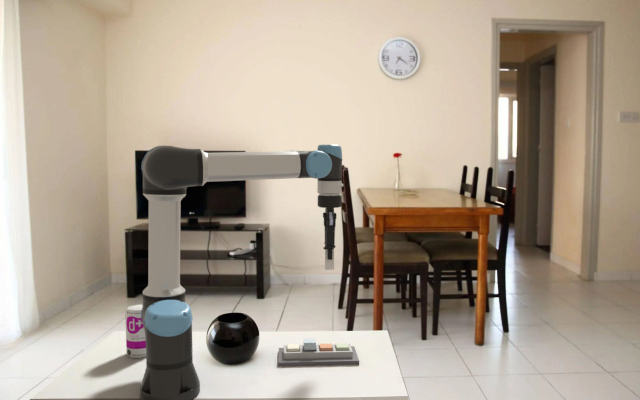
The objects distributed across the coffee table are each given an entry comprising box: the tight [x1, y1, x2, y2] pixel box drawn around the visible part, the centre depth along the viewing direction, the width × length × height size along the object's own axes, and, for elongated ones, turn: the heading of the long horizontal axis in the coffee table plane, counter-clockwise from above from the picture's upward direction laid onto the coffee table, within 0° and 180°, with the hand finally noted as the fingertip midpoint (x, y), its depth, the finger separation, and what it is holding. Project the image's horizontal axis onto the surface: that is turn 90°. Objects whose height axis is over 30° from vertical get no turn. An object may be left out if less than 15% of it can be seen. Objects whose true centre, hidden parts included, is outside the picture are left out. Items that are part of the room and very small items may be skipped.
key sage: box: [335, 342, 349, 351], centre depth 166 cm, size 4×4×2 cm
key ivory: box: [287, 343, 300, 352], centre depth 165 cm, size 4×4×2 cm
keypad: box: [277, 343, 360, 368], centre depth 165 cm, size 24×12×3 cm, turn 94°
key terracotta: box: [319, 342, 332, 351], centre depth 165 cm, size 4×4×2 cm
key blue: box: [303, 338, 317, 350], centre depth 165 cm, size 4×4×2 cm
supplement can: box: [125, 303, 146, 359], centre depth 168 cm, size 8×8×15 cm
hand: (329, 269), depth 169 cm, fingers closed
